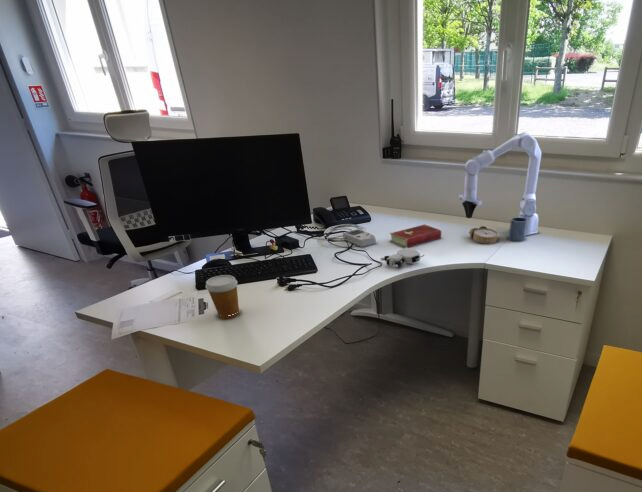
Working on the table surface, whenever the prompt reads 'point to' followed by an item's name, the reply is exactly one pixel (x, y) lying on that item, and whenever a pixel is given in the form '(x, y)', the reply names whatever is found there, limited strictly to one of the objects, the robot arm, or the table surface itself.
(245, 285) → the table surface
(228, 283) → the disposable coffee cup
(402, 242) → the hardcover book
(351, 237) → the handheld gaming device
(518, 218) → the pen pot
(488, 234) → the alarm clock
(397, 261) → the robot toy
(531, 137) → the robot arm
